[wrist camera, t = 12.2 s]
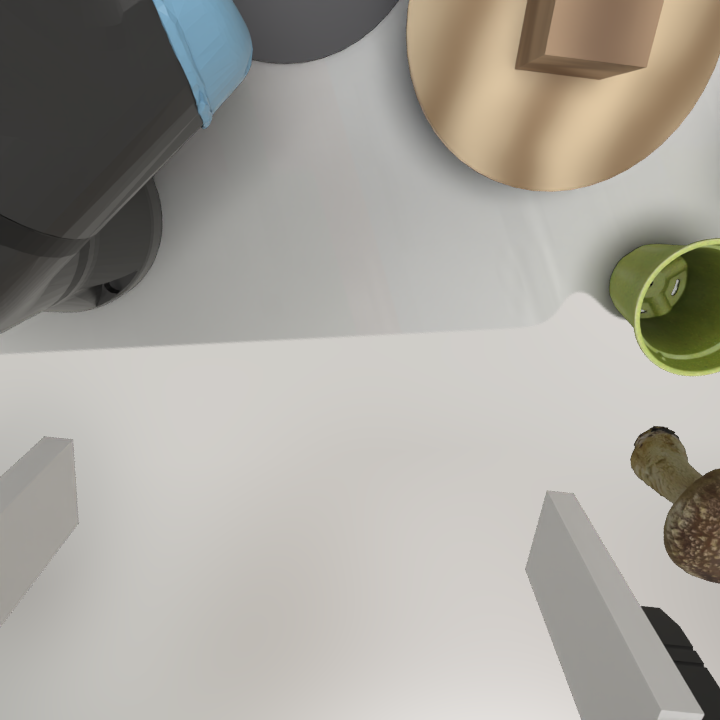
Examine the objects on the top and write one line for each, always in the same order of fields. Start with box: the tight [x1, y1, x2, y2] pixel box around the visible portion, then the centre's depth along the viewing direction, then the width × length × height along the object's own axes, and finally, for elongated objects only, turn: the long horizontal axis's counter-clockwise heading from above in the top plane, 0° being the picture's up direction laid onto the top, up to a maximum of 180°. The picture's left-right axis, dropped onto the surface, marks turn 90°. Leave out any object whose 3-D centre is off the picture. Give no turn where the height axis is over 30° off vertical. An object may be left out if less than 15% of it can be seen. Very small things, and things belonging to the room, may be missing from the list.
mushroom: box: [630, 426, 720, 583], centre depth 44 cm, size 9×9×15 cm
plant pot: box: [609, 238, 720, 376], centre depth 42 cm, size 9×9×9 cm
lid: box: [406, 0, 720, 192], centre depth 30 cm, size 18×18×7 cm
